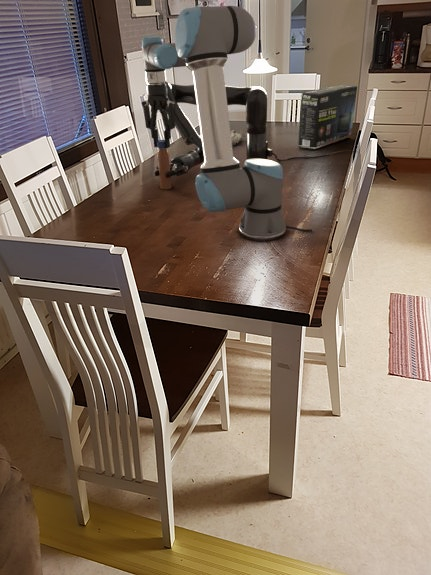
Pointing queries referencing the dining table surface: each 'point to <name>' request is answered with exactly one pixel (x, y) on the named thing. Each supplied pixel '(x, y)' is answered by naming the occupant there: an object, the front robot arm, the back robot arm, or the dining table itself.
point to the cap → (160, 143)
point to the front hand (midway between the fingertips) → (162, 146)
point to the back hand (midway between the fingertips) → (161, 174)
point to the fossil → (236, 136)
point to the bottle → (164, 168)
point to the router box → (326, 115)
